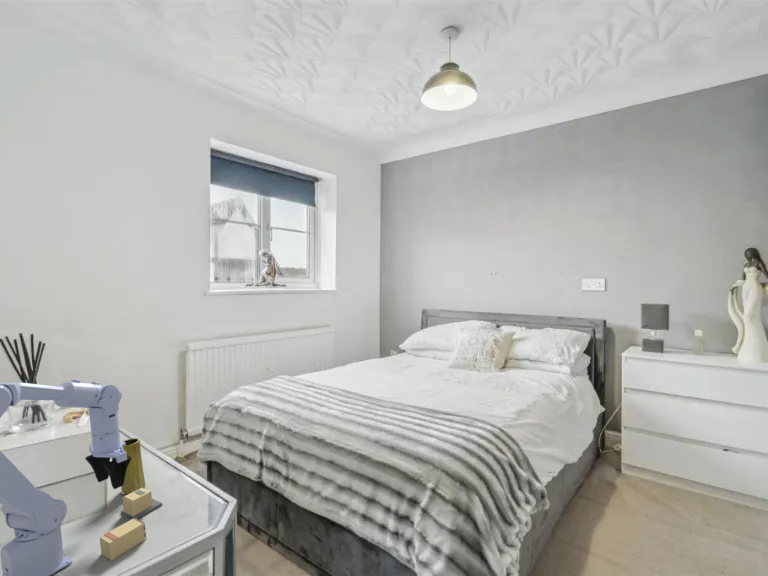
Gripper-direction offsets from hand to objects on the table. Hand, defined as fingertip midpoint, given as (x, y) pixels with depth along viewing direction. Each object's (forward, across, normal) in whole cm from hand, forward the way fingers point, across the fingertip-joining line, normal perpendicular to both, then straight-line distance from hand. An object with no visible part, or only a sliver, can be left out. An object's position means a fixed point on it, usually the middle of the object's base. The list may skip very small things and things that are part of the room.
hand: (110, 483), depth 99 cm
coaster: (+10, -2, -6) cm, 12 cm away
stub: (+9, -2, -5) cm, 11 cm away
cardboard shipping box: (+10, -13, +4) cm, 17 cm away
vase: (+10, +12, -10) cm, 19 cm away
